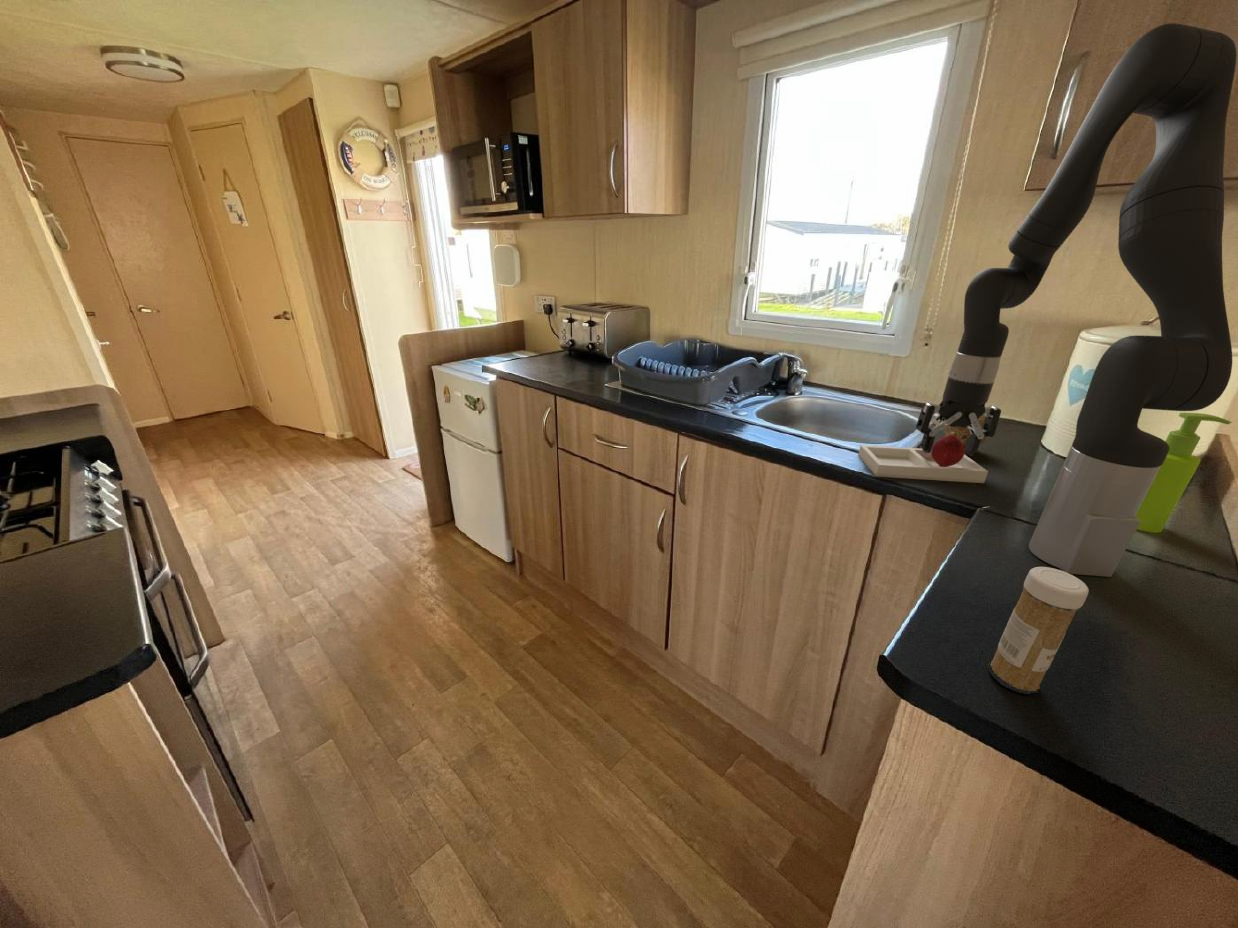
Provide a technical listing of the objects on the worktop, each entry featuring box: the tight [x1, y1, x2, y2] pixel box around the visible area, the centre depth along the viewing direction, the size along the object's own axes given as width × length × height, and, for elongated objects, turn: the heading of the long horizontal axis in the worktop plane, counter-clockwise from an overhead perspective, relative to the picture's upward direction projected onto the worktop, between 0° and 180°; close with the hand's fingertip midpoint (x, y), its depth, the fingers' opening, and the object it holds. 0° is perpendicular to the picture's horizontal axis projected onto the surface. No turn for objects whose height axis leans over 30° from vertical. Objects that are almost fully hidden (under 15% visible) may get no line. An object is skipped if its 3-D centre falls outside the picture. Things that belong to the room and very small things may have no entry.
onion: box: [931, 432, 965, 467], centre depth 102 cm, size 6×6×8 cm
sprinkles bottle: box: [989, 566, 1090, 692], centre depth 50 cm, size 5×5×13 cm
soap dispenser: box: [1135, 412, 1233, 534], centre depth 80 cm, size 6×7×20 cm
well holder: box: [857, 444, 989, 484], centre depth 104 cm, size 11×21×3 cm, turn 84°
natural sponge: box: [943, 414, 990, 450], centre depth 112 cm, size 9×9×10 cm
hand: (947, 452), depth 102 cm, fingers open, 8 cm apart
